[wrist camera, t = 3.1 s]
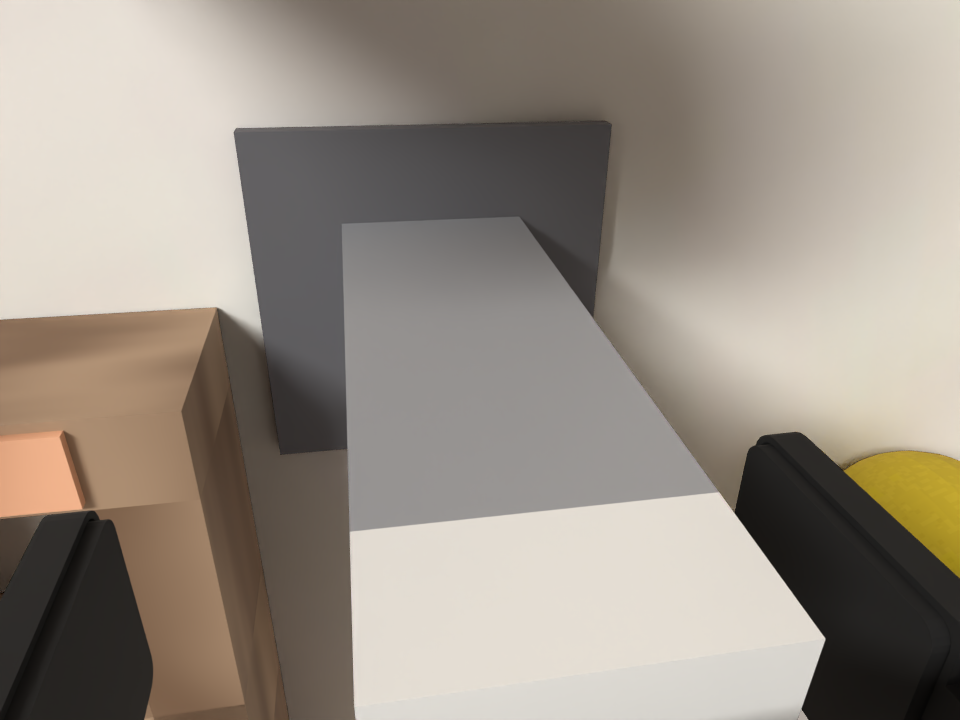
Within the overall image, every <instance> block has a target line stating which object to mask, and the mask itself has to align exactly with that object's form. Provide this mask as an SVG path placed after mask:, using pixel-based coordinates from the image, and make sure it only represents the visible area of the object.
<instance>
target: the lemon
mask: <svg viewBox="0 0 960 720" xmlns="http://www.w3.org/2000/svg"><path fill="white" fill-rule="evenodd" d="M844 472H845V473H846V474H847V475H848V476H849V477H850V478H852V479H853V480H854V481H855V482H856V483H857V484H858V485H859V486H860V487H861V488H862V489H863V490H865V491H866V492H867V493H868V494H869V495H870V496H871V497H872V498H873V499H874V500H875V501H876V502H878V503H879V504H880V505H881V506H882V507H883V508H884V509H885V510H886V511H887V512H888V513H889V514H891V515H892V516H893V517H894V518H895V519H896V520H897V521H898V522H899V523H900V524H901V525H902V526H904V527H905V528H906V529H907V530H908V531H909V532H910V533H911V534H912V535H913V536H914V537H915V538H917V539H918V540H919V541H920V542H921V543H922V544H923V545H924V546H925V547H926V548H927V549H928V550H930V551H931V552H932V553H933V554H934V555H935V556H936V557H937V558H938V559H939V560H940V561H941V562H943V563H944V564H945V565H946V566H947V567H948V568H949V569H950V570H951V571H952V572H953V573H954V574H956V575H957V576H958V577H959V578H960V461H958V460H955V459H953V458H950V457H947V456H943V455H940V454H934V453H927V452H918V451H896V452H888V453H882V454H877V455H874V456H871V457H868V458H865V459H863V460H861V461H859V462H857V463H855V464H853V465H852V466H850V467H848V468H847V469H846V470H844Z"/></svg>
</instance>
